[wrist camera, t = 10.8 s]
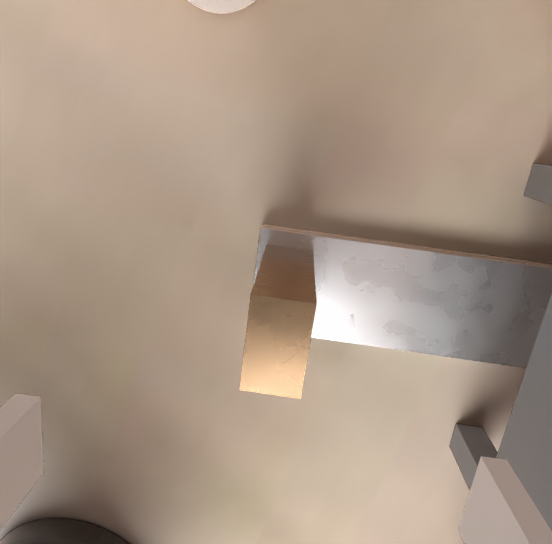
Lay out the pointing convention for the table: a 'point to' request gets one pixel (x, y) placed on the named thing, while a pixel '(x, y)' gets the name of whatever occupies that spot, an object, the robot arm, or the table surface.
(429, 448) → the table surface
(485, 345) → the steel scraper
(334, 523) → the table surface
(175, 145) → the table surface
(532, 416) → the gray cabinet
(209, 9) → the can
